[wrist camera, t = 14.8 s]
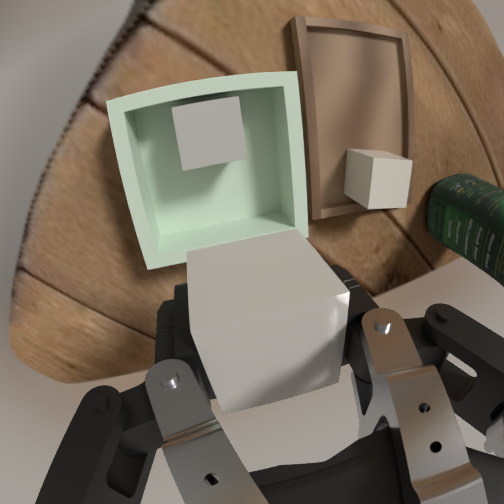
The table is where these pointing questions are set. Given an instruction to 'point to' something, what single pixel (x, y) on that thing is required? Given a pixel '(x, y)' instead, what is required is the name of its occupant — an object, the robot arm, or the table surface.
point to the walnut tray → (350, 102)
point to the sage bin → (211, 167)
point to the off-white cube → (209, 132)
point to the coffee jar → (469, 221)
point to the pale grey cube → (266, 318)
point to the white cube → (377, 178)
